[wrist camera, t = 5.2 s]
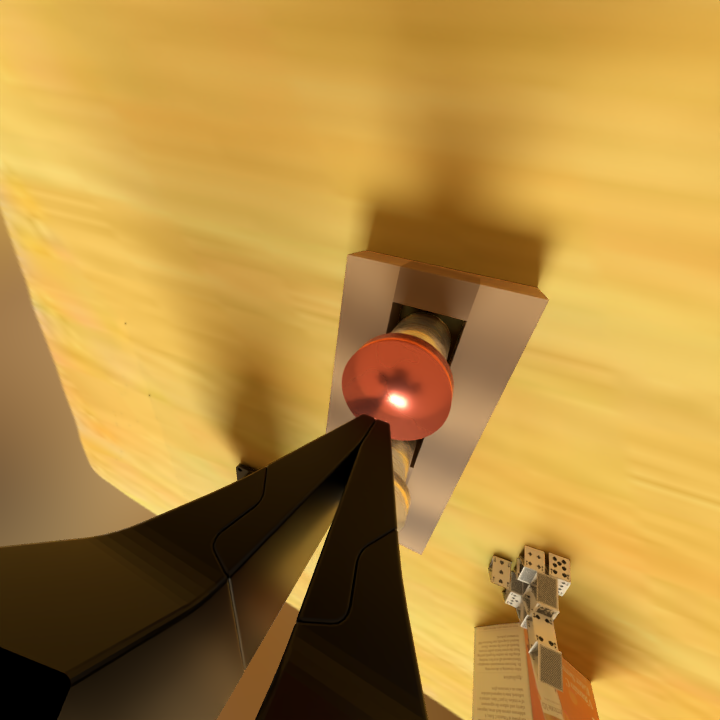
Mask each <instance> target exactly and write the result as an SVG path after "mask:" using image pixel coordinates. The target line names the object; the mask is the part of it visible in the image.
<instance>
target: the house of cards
mask: <svg viewBox="0 0 720 720" xmlns="http://www.w3.org/2000/svg"><path fill="white" fill-rule="evenodd" d="M519 557H520V559H518V558H517V569H514V568H513V569H514V571H515V572H513V571H511V563H512V562H510V561H507V560H504V559H502V558H499V557H497V556H494V555H493V559H492V561H491V564H490V566H489V568H488V570H489V575H490V580H491V582H492V583H495V584H497V585H500V586H502V587H504V588H506V593H505V592H503V591H502V593H503V596H504V600H505V603H506V604H508V605H511V606H513V607H515V608H516V611H517V614H518V617H519V621H520V626H521V627H523V628H525V629H527V631H528V640H529V648H530V651H529V652H528V653H530V657H531V660H532V663H533V667H534V670H535V673H536V676H537V680H538V681H540V682H542V683H544V684H546V685H549V686H551V687H553V688H555V689H557V690H559V691H561V692H563V675H562V652H561V651H558V645H557V640H556V634H555V629H554V623H553V621H554V619H555V618H556V616H557V615H558V614H559V612H560V611H559V600H558V595H560V596H563V595H564V593H565V592H566V590H567V589H568V588H569V586H570V585H571V576H570V560H569V559H566V558H563V557H560V556H557V555H555V554H552V553H549V565H547V564H545V552H543V551H540V550H537V549H535V548H532V547H529V546H526V545H525V557H523V556H520V555H519ZM510 577H511V581H510ZM569 582H570V583H569Z"/></svg>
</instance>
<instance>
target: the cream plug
mask: <svg viewBox="0 0 720 720" xmlns="http://www.w3.org/2000/svg"><path fill="white" fill-rule="evenodd" d="M417 441H418V439H417V440H410V441H401V440H394V439H391V444H392V458H393V472H394V486H395V500H396V514H397V531H398V532H399V531H400V530H401V529H402V528H403V527H404V525H405V521H406V518H407V514H408V510H409V506H410V500H411V498H410V492H409V489H408V487H407V485H406V484H405V481H406V478H407V474H408V471H409V468H410V464H411V461H412V458H413V454H414V451H415V447H416V444H417Z"/></svg>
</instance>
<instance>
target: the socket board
mask: <svg viewBox="0 0 720 720" xmlns="http://www.w3.org/2000/svg"><path fill="white" fill-rule="evenodd" d="M548 301H549V300H548V299H547V297H546V296H545V295H544V294H543V293H542V292H541V291H540V290H539V289H538V288H537V287H532V286H528V285H523V284H518V283H514V282H509V281H505V280H500V279H496V278H491V277H486V276H482V275H477V274H473V273H468V272H463V271H459V270H454V269H450V268H445V267H441V266H436V265H431V264H427V263H422V262H418V261H413V260H408V259H404V258H399V257H395V256H390V255H385V254H381V253H376V252H372V251H362V252H357V253H352V254H348V256H347V264H346V272H345V281H344V289H343V297H342V305H341V313H340V322H339V330H338V338H337V346H336V354H335V363H334V371H333V379H332V387H331V395H330V403H329V412H328V420H327V428H326V433H328V432H330V431H332V430H334V429H336V428H338V427H339V426H341V425H343V424H345V423H347V422H349V421H351V420H353V419H354V418H356V417H355V416H354V415H353V413H352V412H351V411H350V409H349V407H348V406H347V403H346V401H345V399H344V396H343V391H342V375H343V371H344V368H345V366H346V364H347V362H348V361H349V359H350V358H351V357H352V356H353V355H354V354H355V353H356V352H357V351H358V350H359V349H360V348H361V347H362V346H363V345H364V344H365V343H366V342H368V341H369V340H371V339H372V338H374V337H376V336H379V335H382V334H387V333H391V332H392V330H393V329H394V328H395V327H396V326H397V325H398V321H399V316H400V312H401V308H402V304H403V305H407V306H411V307H415V308H418V309H422V310H426V311H430V312H434V313H437V314H441V315H445V316H449V317H453V318H456V319H460V320H464V322H463V325H462V328H461V331H460V333H459V336H458V339H457V342H456V345H455V347H454V350H453V353H452V356H451V359H450V361H449V363H448V365H449V367H450V369H451V372H452V375H453V380H454V390H453V397H452V403H451V409H450V412H449V415H448V417H447V419H446V421H445V422H444V424H443V425H442V426H441V427H440V428H439V429H438V430H437V431H436V432H434V433H433V434H431V435H429V436H427V437H425V438H422V439H421V440H418V441H417V444H416V447H415V451H414V454H413V458H412V461H411V464H410V468H409V471H408V474H407V478H406V481H405V484H406V485H407V487H408V489H409V492H410V498H411V500H410V506H409V510H408V514H407V518H406V521H405V525H404V527H403V528H402V529H401V530H400V531H399V532H398V539H399V544H400V545H402V546H404V547H406V548H408V549H410V550H412V551H414V552H416V553H418V554H420V555H422V553H423V551H424V549H425V547H426V545H427V543H428V541H429V539H430V537H431V535H432V533H433V531H434V529H435V527H436V525H437V523H438V521H439V519H440V517H441V515H442V513H443V511H444V509H445V507H446V505H447V503H448V501H449V499H450V497H451V495H452V493H453V491H454V489H455V487H456V485H457V483H458V481H459V479H460V477H461V475H462V473H463V471H464V469H465V467H466V465H467V463H468V461H469V459H470V457H471V455H472V453H473V451H474V449H475V447H476V445H477V443H478V441H479V439H480V437H481V435H482V433H483V431H484V429H485V427H486V425H487V423H488V421H489V419H490V417H491V415H492V413H493V411H494V409H495V407H496V405H497V403H498V401H499V399H500V397H501V395H502V393H503V391H504V389H505V387H506V385H507V383H508V381H509V379H510V377H511V375H512V373H513V371H514V369H515V367H516V365H517V363H518V361H519V359H520V357H521V355H522V353H523V351H524V349H525V347H526V345H527V343H528V341H529V339H530V337H531V335H532V333H533V331H534V329H535V327H536V325H537V323H538V321H539V319H540V317H541V315H542V313H543V311H544V309H545V307H546V305H547V303H548Z"/></svg>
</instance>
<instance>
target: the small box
mask: <svg viewBox="0 0 720 720" xmlns="http://www.w3.org/2000/svg"><path fill="white" fill-rule="evenodd" d="M529 651H530V648H529V640H528V631H527V629H525V628H523V627H521V626H520V622H518V623H506V624H497V625H489V626H482V627H475V634H474V671H473V707H472V720H599V717H598V713H597V708H596V704H595V700H594V695H593V691H592V686H591V682H590V681H589V680H588V679H586V678H585V677H584V676H583V675H582V674H581V673H580V672H579V671H577V670H576V669H575V668H574V667H573V666H572V665H571V664H570V663H568V662H567V661H566V660H565V659H564V658H563V657H562V675H563V692H561V691H559V690H557V689H555V688H553V687H551V686H549V685H546V684H544V683H542V682H540V681H538V680H537V676H536V673H535V670H534V667H533V663H532V660H531V657H530V653H528V652H529Z"/></svg>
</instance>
